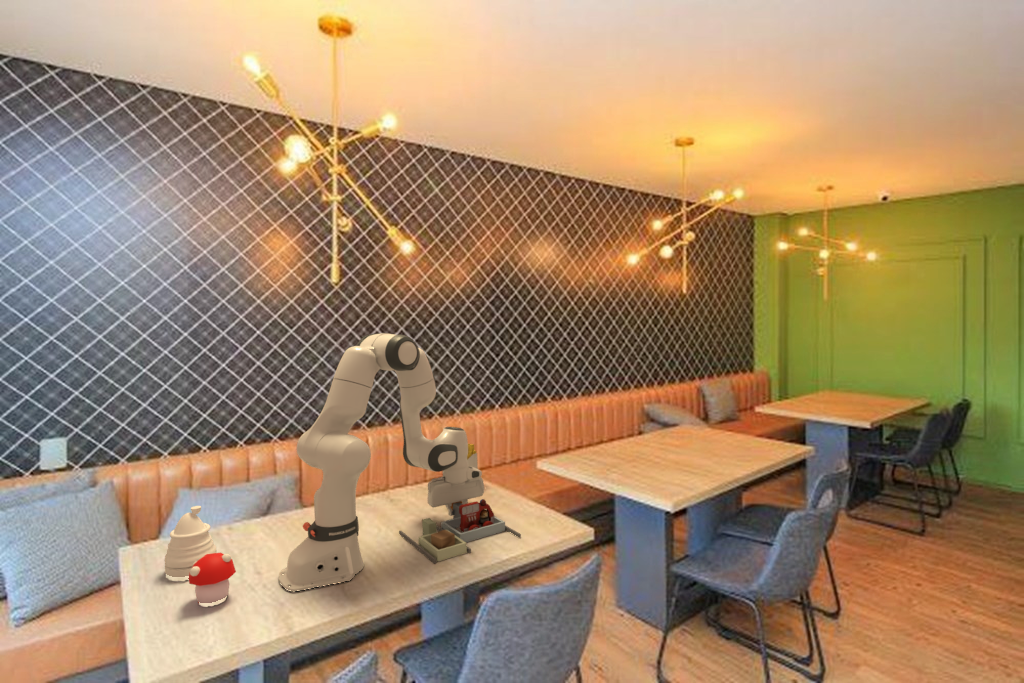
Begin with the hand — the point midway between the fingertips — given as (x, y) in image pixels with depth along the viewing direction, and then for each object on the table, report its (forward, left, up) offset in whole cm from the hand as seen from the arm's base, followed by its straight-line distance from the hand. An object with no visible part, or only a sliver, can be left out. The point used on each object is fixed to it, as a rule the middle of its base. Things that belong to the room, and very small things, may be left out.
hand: (456, 513), depth 193 cm
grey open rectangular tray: (0, -9, -2) cm, 9 cm away
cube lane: (-15, -15, -2) cm, 21 cm away
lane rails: (-6, -12, -2) cm, 14 cm away
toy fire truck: (0, -13, -3) cm, 13 cm away
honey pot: (-78, +13, -3) cm, 79 cm away
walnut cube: (-14, -18, -2) cm, 23 cm away
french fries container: (+19, +28, -2) cm, 34 cm away
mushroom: (-75, -9, -2) cm, 76 cm away
